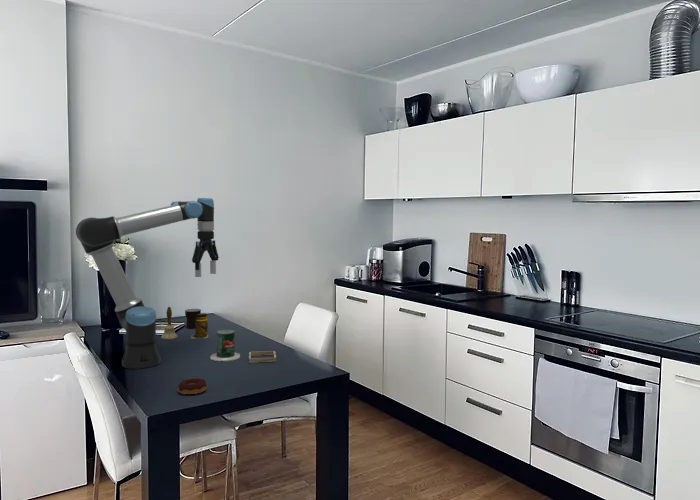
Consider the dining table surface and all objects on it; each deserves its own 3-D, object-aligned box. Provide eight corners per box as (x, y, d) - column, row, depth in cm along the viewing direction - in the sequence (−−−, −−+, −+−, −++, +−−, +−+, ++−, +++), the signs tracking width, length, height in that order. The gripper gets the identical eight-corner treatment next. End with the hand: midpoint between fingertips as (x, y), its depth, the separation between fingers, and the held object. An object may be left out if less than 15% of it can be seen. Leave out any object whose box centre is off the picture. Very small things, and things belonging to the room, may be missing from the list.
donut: (171, 394, 177) (171, 383, 177) (189, 385, 186) (189, 375, 186) (195, 398, 174) (195, 387, 173) (212, 389, 183) (212, 378, 183)
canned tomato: (229, 358, 219) (229, 334, 218) (213, 357, 221) (213, 332, 220) (237, 353, 227) (237, 330, 226) (221, 352, 228) (221, 329, 228)
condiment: (207, 338, 258) (207, 315, 258) (190, 338, 257) (190, 315, 256) (208, 334, 266) (208, 312, 265) (191, 335, 264) (191, 312, 263)
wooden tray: (276, 362, 217) (276, 357, 217) (249, 363, 215) (249, 359, 215) (275, 355, 228) (275, 350, 228) (249, 356, 226) (249, 351, 226)
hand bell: (180, 337, 259) (180, 306, 258) (165, 340, 253) (165, 308, 252) (172, 334, 264) (172, 304, 263) (157, 337, 258) (157, 306, 257)
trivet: (231, 362, 216) (231, 360, 216) (204, 360, 219) (204, 358, 219) (245, 354, 228) (245, 353, 228) (219, 352, 231) (219, 350, 231)
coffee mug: (198, 329, 277) (198, 311, 276) (182, 329, 277) (182, 311, 277) (204, 325, 289) (204, 307, 288) (189, 324, 289) (189, 307, 288)
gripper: (211, 230, 250) (212, 272, 251) (183, 231, 225) (184, 277, 227) (225, 230, 248) (225, 272, 249) (198, 231, 224) (199, 278, 225)
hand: (205, 275), depth 238 cm, fingers open, 13 cm apart
